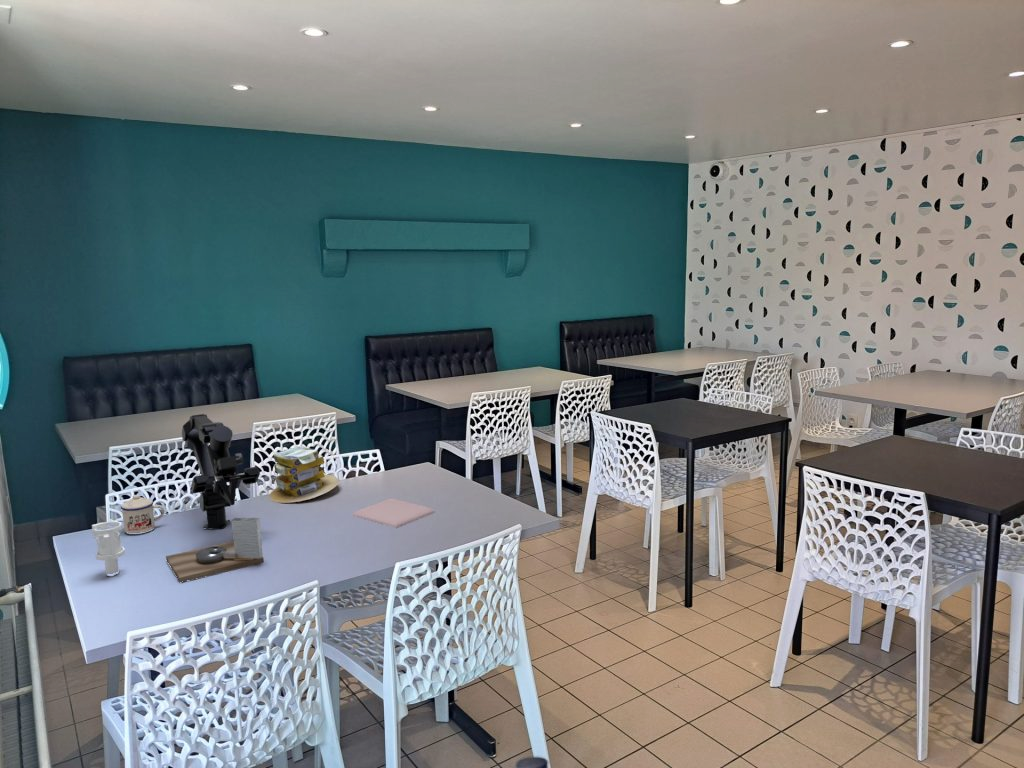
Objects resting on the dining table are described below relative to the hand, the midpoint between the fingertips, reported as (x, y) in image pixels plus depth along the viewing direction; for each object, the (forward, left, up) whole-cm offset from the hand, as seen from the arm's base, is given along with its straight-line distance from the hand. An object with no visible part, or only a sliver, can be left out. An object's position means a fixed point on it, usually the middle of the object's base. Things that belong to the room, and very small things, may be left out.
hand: (232, 504), depth 216 cm
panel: (-22, +36, -14) cm, 44 cm away
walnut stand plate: (+10, -3, -13) cm, 17 cm away
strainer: (+17, -28, -14) cm, 35 cm away
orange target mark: (+12, +6, -12) cm, 18 cm away
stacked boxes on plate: (-52, +7, -14) cm, 54 cm away
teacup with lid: (-17, -35, -14) cm, 41 cm away
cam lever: (+12, +2, -11) cm, 17 cm away
